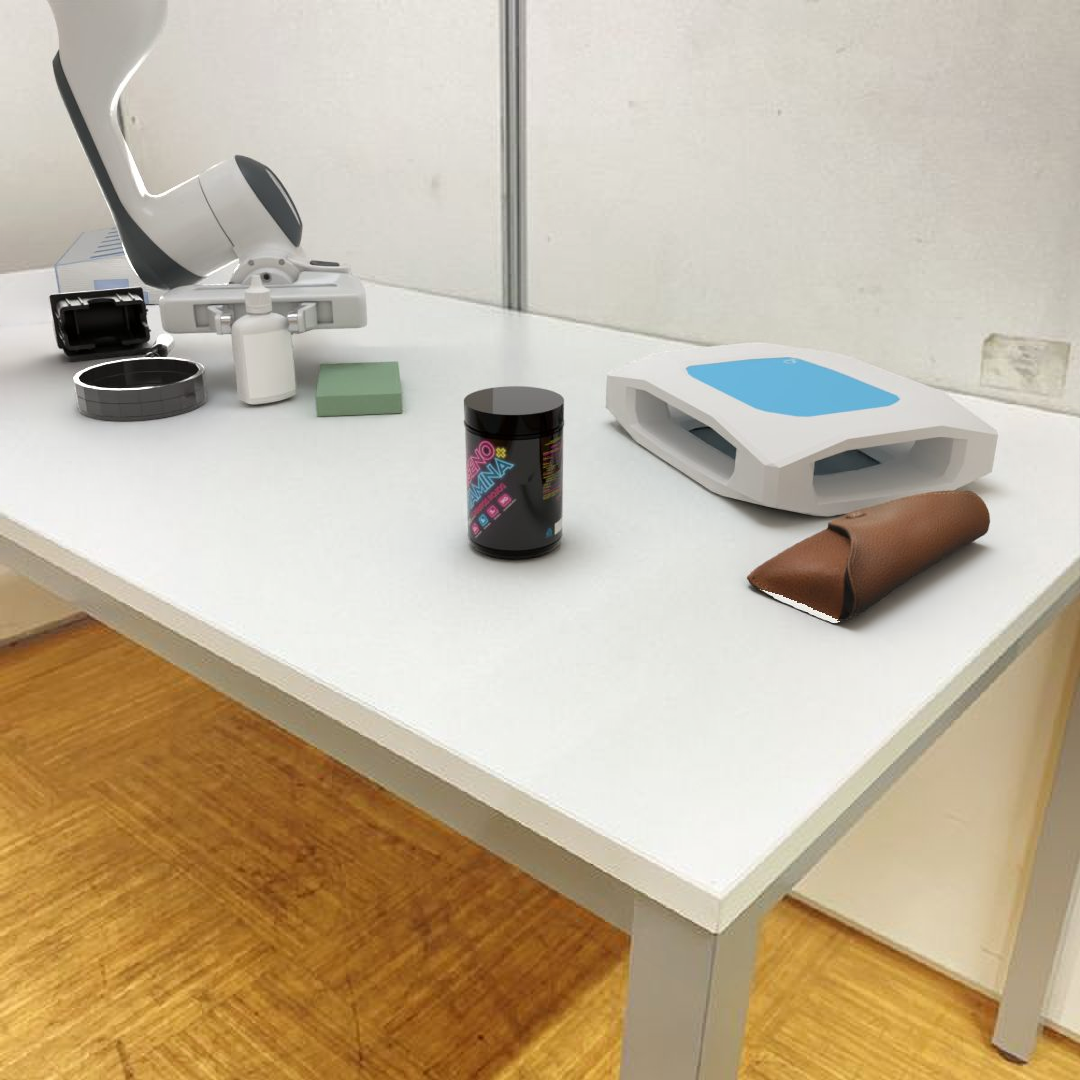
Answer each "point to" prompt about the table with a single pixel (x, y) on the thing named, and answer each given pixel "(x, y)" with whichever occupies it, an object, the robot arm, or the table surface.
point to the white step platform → (798, 425)
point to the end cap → (100, 323)
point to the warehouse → (99, 266)
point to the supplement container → (514, 470)
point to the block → (358, 389)
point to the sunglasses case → (873, 551)
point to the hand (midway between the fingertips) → (260, 324)
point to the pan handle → (161, 347)
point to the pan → (140, 389)
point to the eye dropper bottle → (262, 350)
